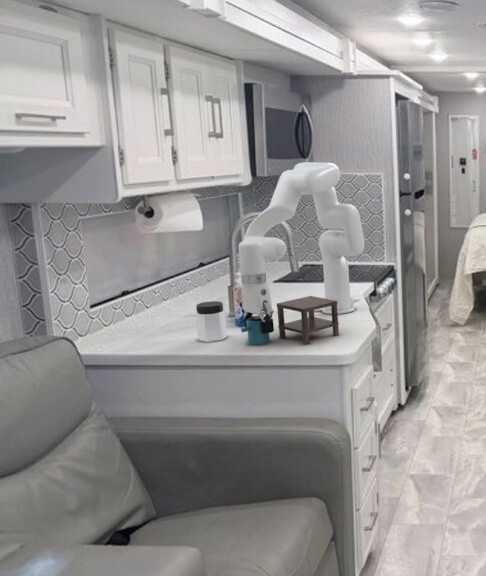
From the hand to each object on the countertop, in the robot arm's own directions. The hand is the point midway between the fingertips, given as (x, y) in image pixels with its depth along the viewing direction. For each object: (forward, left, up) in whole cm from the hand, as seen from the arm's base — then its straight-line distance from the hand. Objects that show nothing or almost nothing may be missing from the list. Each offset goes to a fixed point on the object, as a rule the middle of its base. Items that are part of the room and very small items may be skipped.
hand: (258, 330), depth 219 cm
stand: (-14, +8, -4) cm, 17 cm away
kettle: (0, 0, -4) cm, 4 cm away
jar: (+6, -17, -4) cm, 19 cm away
